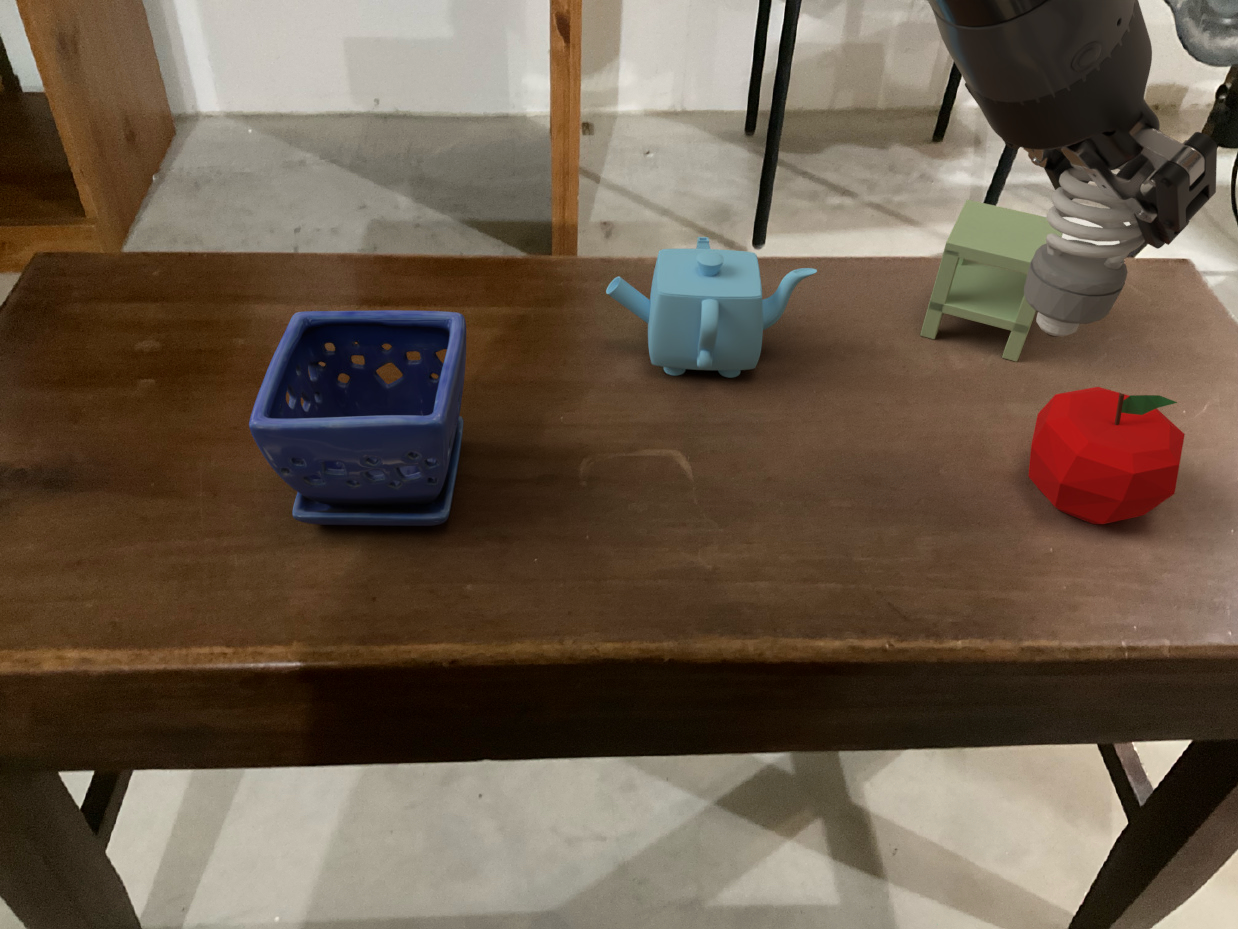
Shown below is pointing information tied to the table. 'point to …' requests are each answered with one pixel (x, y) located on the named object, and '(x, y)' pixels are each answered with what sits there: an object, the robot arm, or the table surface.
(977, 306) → the green side table
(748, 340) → the teapot
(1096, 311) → the light bulb
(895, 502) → the table surface
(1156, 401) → the apple
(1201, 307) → the table surface
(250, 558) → the table surface
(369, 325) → the flower pot
